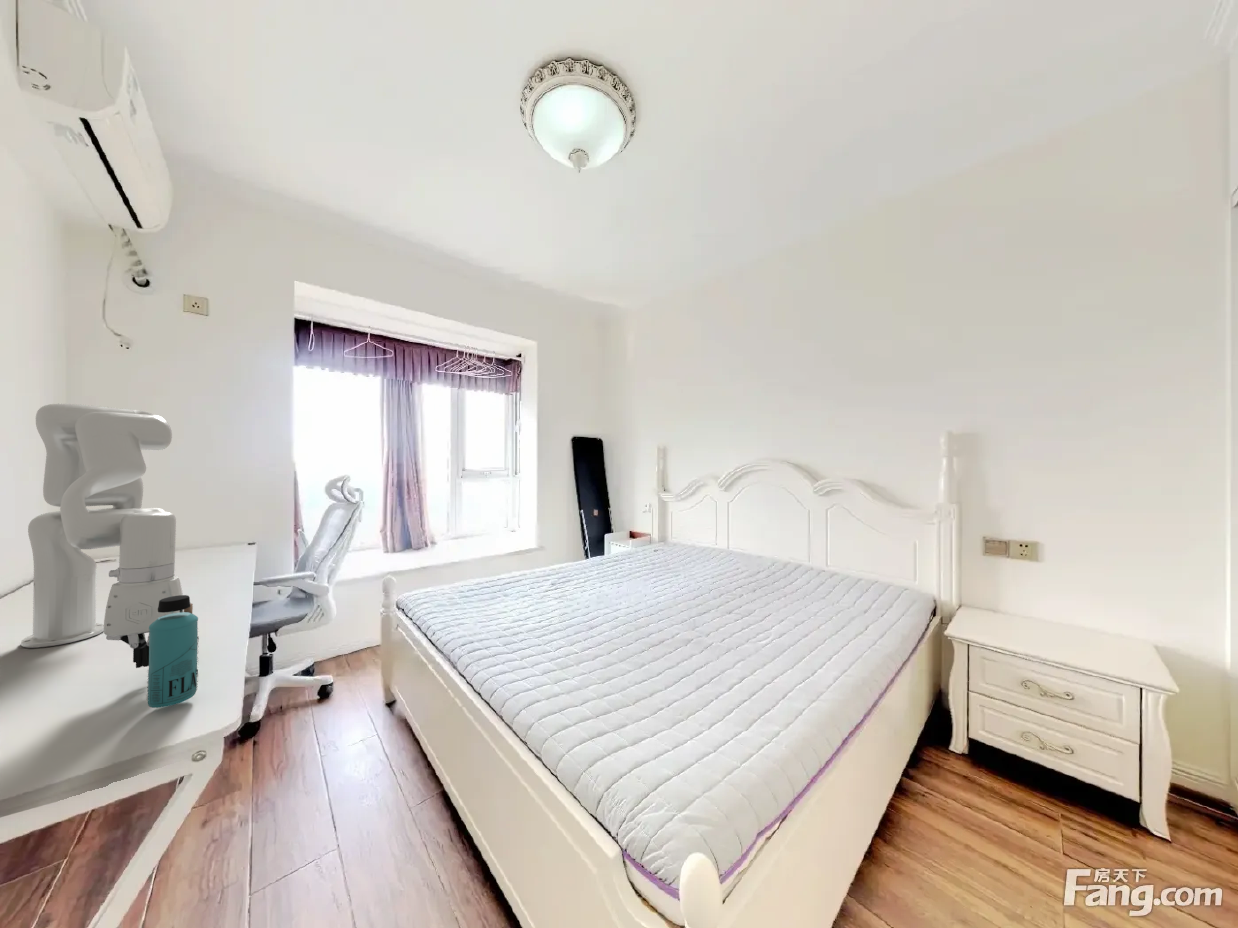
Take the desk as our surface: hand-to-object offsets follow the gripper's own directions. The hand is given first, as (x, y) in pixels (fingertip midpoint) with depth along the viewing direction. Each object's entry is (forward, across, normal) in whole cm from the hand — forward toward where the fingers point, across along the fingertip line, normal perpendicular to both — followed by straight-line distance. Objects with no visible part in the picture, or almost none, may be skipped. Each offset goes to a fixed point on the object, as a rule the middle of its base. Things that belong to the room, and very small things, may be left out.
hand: (145, 664), depth 85 cm
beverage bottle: (+4, +9, -14) cm, 16 cm away
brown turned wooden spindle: (+4, +2, +11) cm, 12 cm away
